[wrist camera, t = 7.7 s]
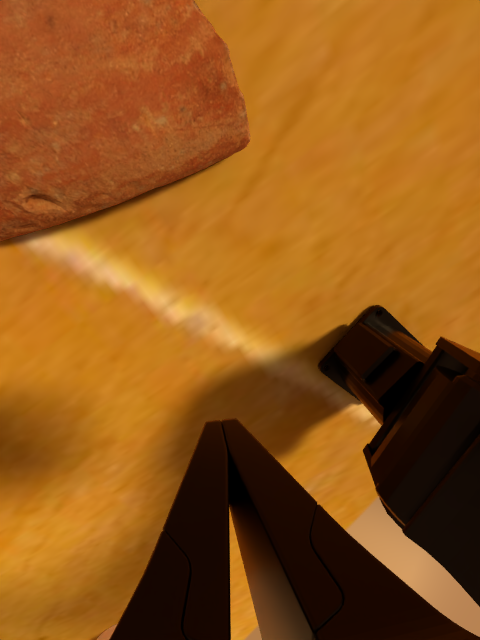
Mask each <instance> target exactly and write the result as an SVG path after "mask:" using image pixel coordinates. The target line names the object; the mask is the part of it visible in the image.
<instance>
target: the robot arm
mask: <svg viewBox="0 0 480 640" xmlns="http://www.w3.org/2000/svg"><path fill="white" fill-rule="evenodd" d="M378 310H379V313H378V314H376V312H377V311H378ZM436 345H437V346H436V348H435V349H434V350H433V352H432V351H430V350H428V349H427V348H425V347H424V346H423V345H422V344H421V343H420V342H419V341H418V340H417V339H416V338H415V337H414V336H413V335H412V334H410V333H409V332H408V331H407V330H406V329H405V328H404V327H403V326H402V325H401V324H400V323H399V322H398V321H397V320H396V319H395V318H394V317H393V316H392V315H391V314H390V313H389V312H388V311H387V310H386V309H385V308H383V307H382V306H380V305H375V306H373V307H372V308H371V309H370V310H369V311H368V312H367V313H366V314H365V315H364V316H363V317H362V319H361V320H360V321H359V322H358V323H357V324H356V325H355V326H354V327H353V328H352V329H351V330H350V331H349V332H348V333H347V334H346V335H345V336H344V337H343V338H342V340H341V341H340V342H339V343H338V344H337V345H336V346H335V347H334V348H333V349H332V350H331V351H330V352H329V353H328V354H327V355H326V356H325V357H324V359H323V360H322V361H321V362H320V363H319V365H318V367H319V369H320V371H321V372H322V373H323V374H325V375H326V376H327V377H329V378H330V379H331V380H333V381H334V382H335V383H337V384H338V385H339V386H341V387H342V388H343V389H345V390H346V391H347V392H349V393H350V394H351V395H353V396H354V397H355V398H357V399H358V400H359V401H361V402H362V403H363V404H364V406H365V407H366V408H367V409H368V410H369V411H370V413H371V414H372V415H373V416H374V417H375V418H376V420H377V421H378V422H379V423H380V424H381V425H382V426H381V427H380V429H379V430H378V432H377V433H376V435H375V436H374V438H373V439H372V441H371V442H370V443H369V444H367V445H366V446H365V448H364V449H363V453H364V455H365V458H366V461H367V464H368V467H369V470H370V472H371V475H372V478H373V481H374V484H375V487H376V491H377V494H378V496H379V498H380V500H381V502H382V504H383V506H384V508H385V510H386V512H387V514H388V515H389V516H390V517H391V518H392V519H393V520H394V521H395V523H396V524H397V525H398V526H399V527H401V528H402V531H403V533H404V534H405V536H407V537H408V538H409V539H411V540H412V541H413V542H415V543H416V544H417V545H419V546H420V547H422V548H423V549H424V550H425V551H427V552H428V553H429V554H430V555H431V556H432V557H433V558H434V559H435V560H436V561H438V562H439V563H440V564H441V565H442V566H443V567H444V568H445V569H446V570H447V571H448V572H449V573H450V574H451V575H452V576H453V577H454V579H455V580H456V581H457V582H458V583H459V584H460V585H461V586H462V587H463V588H464V590H465V591H466V592H467V593H468V594H469V595H470V596H471V597H472V598H473V600H474V601H475V602H476V603H477V604H478V605H479V607H480V353H478V352H475V351H473V350H471V349H469V348H466V347H464V346H462V345H459V344H457V343H455V342H452V341H450V340H448V339H446V338H443V337H440V338H439V340H438V341H437V343H436ZM326 365H328V366H327V367H326V368H324V366H326ZM229 507H230V511H231V516H232V520H233V524H234V528H235V532H236V536H237V540H238V544H239V548H240V552H241V556H242V560H243V564H244V568H245V572H246V576H247V580H248V584H249V588H250V592H251V596H252V600H253V604H254V608H255V612H256V616H257V620H258V624H259V628H260V632H261V636H262V640H480V637H478V636H476V635H474V634H473V633H471V632H469V631H467V630H465V629H464V628H462V627H460V626H459V625H457V624H456V623H454V622H452V621H451V620H450V619H448V618H447V617H446V616H444V615H443V614H442V613H440V612H439V611H438V610H436V609H435V608H434V607H433V606H432V605H430V604H429V603H428V602H427V601H426V600H424V599H423V598H422V597H421V596H420V595H419V594H417V593H416V592H415V591H414V590H413V589H412V588H410V587H409V586H408V585H407V584H406V583H405V582H403V581H402V580H401V579H400V578H399V577H398V576H396V575H395V574H394V573H393V572H392V571H390V570H389V569H388V568H387V567H386V566H385V565H383V564H382V563H381V562H380V561H379V560H378V559H376V558H375V557H374V556H373V555H372V554H370V553H369V552H368V551H367V550H366V549H365V548H364V547H363V546H362V545H361V544H359V543H358V542H357V541H356V540H355V539H354V538H353V537H352V536H350V535H349V534H348V533H347V532H346V531H345V530H344V529H343V528H342V527H341V526H340V525H339V524H338V523H337V522H336V521H335V520H334V519H333V518H332V517H331V516H330V515H329V514H328V513H327V512H326V511H325V510H324V509H323V508H322V507H321V506H320V505H319V504H318V505H317V502H316V501H315V500H314V498H313V497H312V496H311V495H310V494H309V493H308V492H307V491H306V490H305V489H304V488H303V487H302V486H301V485H300V484H299V483H298V482H297V481H296V480H295V479H294V478H293V477H292V476H291V475H290V474H289V473H288V472H287V471H286V469H285V468H284V467H283V466H282V465H281V464H280V463H279V462H278V461H277V460H276V459H275V458H274V457H273V456H272V455H271V454H270V453H269V452H268V451H267V450H266V449H265V448H264V447H263V446H262V445H261V444H260V443H259V441H258V440H257V439H256V438H255V437H254V436H253V435H252V434H251V433H250V432H249V431H248V430H247V429H246V428H245V427H244V426H243V425H242V424H241V423H240V422H239V421H238V420H237V419H235V418H232V419H224V420H222V422H221V421H220V420H215V421H207V422H206V423H205V425H204V427H203V430H202V432H201V435H200V437H199V440H198V442H197V445H196V447H195V450H194V452H193V455H192V457H191V460H190V462H189V465H188V467H187V470H186V472H185V475H184V477H183V480H182V482H181V484H180V487H179V489H178V492H177V494H176V497H175V499H174V502H173V504H172V507H171V509H170V512H169V514H168V517H167V519H166V522H165V524H164V527H163V531H162V532H161V534H160V536H159V539H158V541H157V544H156V546H155V549H154V551H153V553H152V555H151V558H150V560H149V562H148V565H147V567H146V569H145V571H144V574H143V576H142V578H141V580H140V582H139V584H138V586H137V588H136V590H135V592H134V594H133V596H132V598H131V600H130V602H129V604H128V605H127V607H126V609H125V611H124V613H123V615H122V617H121V619H120V620H119V622H118V624H117V626H116V628H115V630H114V632H113V634H112V635H111V637H110V639H109V640H231V626H230V543H229Z"/></svg>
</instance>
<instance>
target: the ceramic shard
mask: <svg viewBox="0 0 480 640" xmlns="http://www.w3.org/2000/svg"><path fill="white" fill-rule="evenodd" d="M249 142H250V133H249V123H248V119H247V112H246V106H245V101H244V97H243V94H242V93H241V91H240V90H239V87H238V84H237V80H236V77H235V74H234V70H233V67H232V63H231V60H230V57H229V49H228V47H227V44H226V43H225V42H224V41H223V40H222V39H221V38H220V37H219V36H218V35H217V34H216V32H215V29H214V28H213V26H212V24H211V23H210V22H209V21H208V20H207V19H206V17H205V16H204V15H203V13H202V12H201V10H200V9H199V8H198V6H197V4H196V3H195V1H194V0H0V241H3V240H6V239H9V238H12V237H16V236H20V235H24V234H28V233H32V232H35V231H39V230H42V229H46V228H49V227H52V226H55V225H60V224H62V223H65V222H68V221H71V220H73V219H76V218H79V217H82V216H85V215H88V214H91V213H94V212H96V211H99V210H102V209H105V208H108V207H111V206H114V205H117V204H120V203H122V202H124V201H127V200H129V199H131V198H134V197H136V196H138V195H140V194H143V193H145V192H147V191H149V190H151V189H154V188H157V187H161V186H164V185H167V184H169V183H172V182H174V181H176V180H179V179H181V178H184V177H186V176H189V175H191V174H194V173H196V172H198V171H200V170H203V169H205V168H207V167H209V166H210V165H212V164H214V163H216V162H218V161H220V160H222V159H225V158H228V157H229V156H231V155H232V154H234V153H236V152H238V151H241V150H242V149H244V148H245V147H246V146H247V145H248V143H249Z"/></svg>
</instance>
